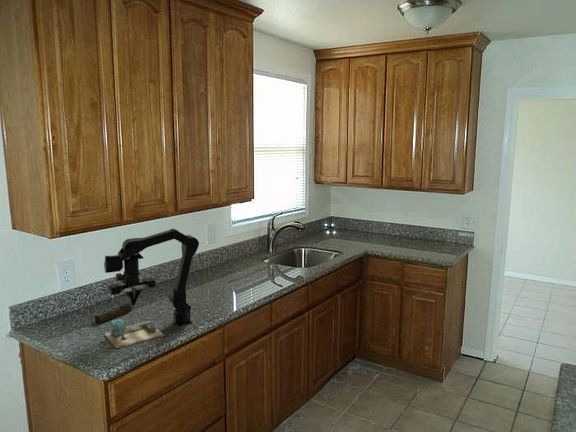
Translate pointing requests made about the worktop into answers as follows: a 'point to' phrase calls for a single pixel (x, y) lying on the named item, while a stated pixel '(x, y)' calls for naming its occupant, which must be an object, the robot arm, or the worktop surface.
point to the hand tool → (114, 313)
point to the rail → (132, 327)
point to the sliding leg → (118, 327)
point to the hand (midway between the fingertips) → (133, 305)
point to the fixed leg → (150, 327)
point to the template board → (133, 337)
